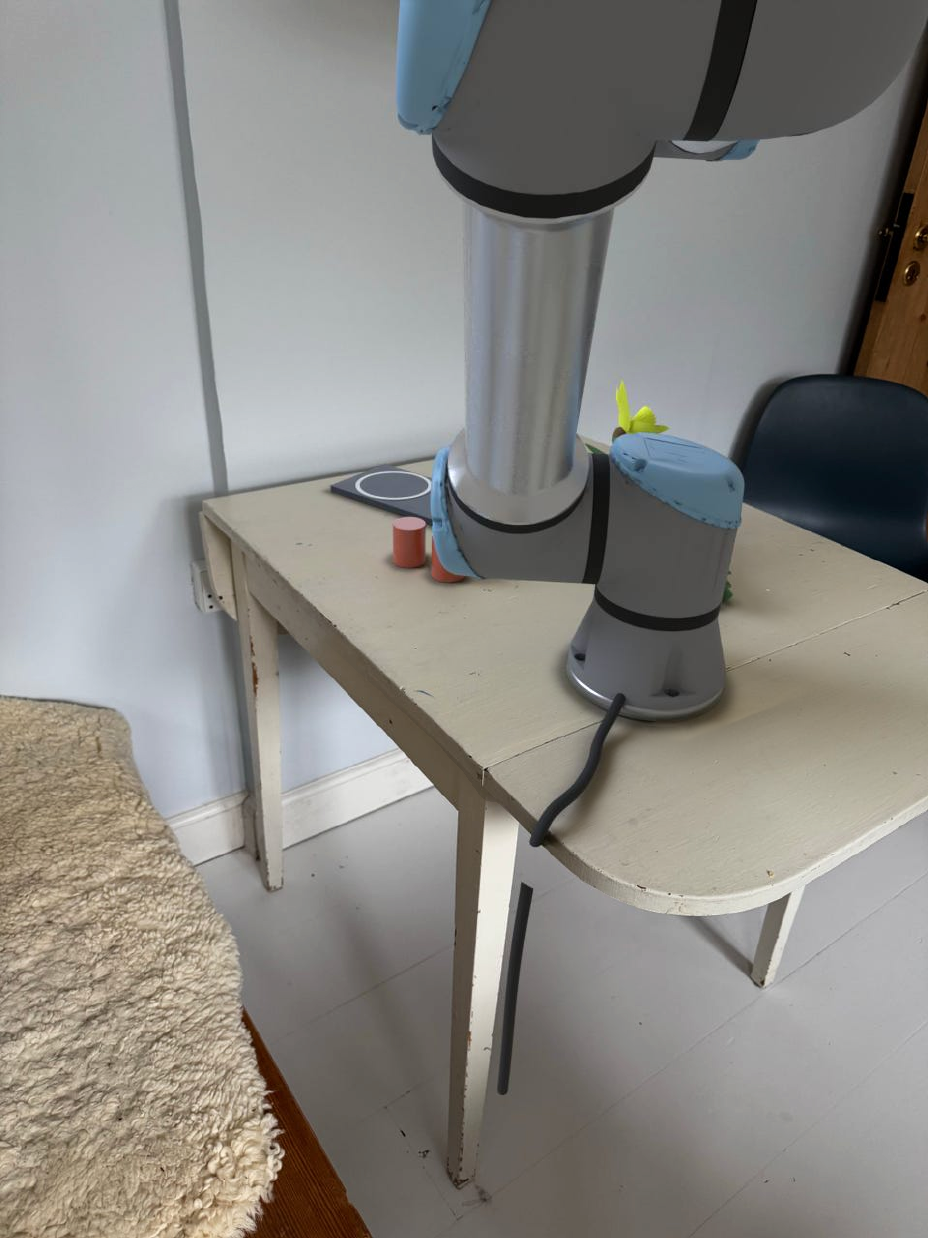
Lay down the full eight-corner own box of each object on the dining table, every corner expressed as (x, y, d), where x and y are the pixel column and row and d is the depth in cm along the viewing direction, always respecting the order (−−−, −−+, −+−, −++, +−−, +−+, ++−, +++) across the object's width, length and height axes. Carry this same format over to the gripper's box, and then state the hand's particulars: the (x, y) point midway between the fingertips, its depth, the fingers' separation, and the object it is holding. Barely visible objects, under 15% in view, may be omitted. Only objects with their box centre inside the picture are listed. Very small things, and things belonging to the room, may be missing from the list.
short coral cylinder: (451, 586, 98) (452, 547, 95) (424, 575, 100) (425, 537, 97) (471, 573, 101) (472, 536, 98) (444, 564, 103) (445, 526, 100)
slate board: (463, 536, 110) (464, 528, 109) (330, 491, 122) (330, 484, 121) (513, 509, 118) (514, 501, 118) (384, 469, 130) (384, 462, 130)
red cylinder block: (411, 571, 101) (411, 533, 98) (386, 561, 103) (385, 524, 100) (432, 559, 104) (432, 522, 101) (407, 550, 106) (407, 513, 103)
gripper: (500, 227, 75) (488, 455, 86) (624, 214, 93) (602, 404, 104) (433, 220, 79) (430, 439, 90) (565, 209, 97) (549, 393, 107)
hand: (522, 421), depth 97 cm, fingers open, 13 cm apart
